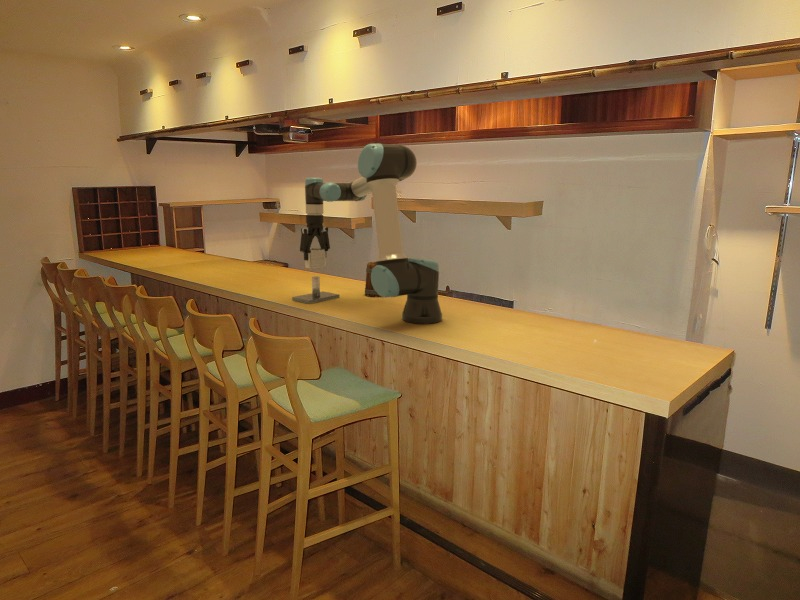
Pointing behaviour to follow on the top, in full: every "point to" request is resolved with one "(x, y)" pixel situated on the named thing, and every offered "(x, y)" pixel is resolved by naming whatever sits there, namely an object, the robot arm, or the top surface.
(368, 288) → the mug
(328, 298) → the shaft stand
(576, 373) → the top surface
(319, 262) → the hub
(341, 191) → the robot arm
